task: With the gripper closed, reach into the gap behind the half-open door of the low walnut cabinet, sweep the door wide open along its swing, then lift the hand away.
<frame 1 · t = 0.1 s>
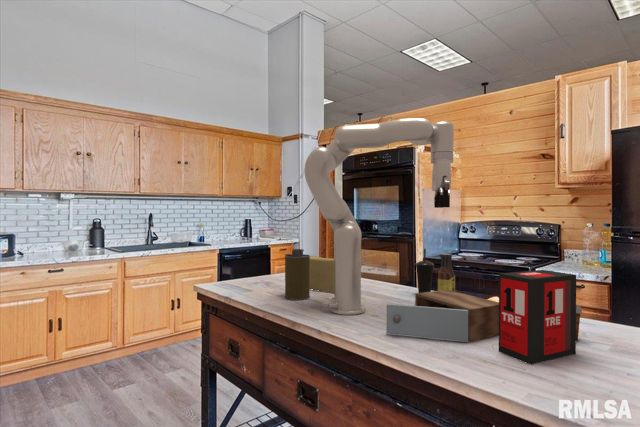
hand: (441, 207, 130), 37 cm above the counter, tool pointing down, fingers open, 9 cm apart
drinking cup: (424, 296, 159), on the counter
door: (425, 322, 105), point 5 cm above the counter, hinge at 45.0°
food container: (555, 336, 109), on the counter
cleaning product box: (536, 353, 95), on the counter
cabinet: (457, 327, 115), on the counter
canister: (296, 297, 155), on the counter
cheese: (323, 291, 169), on the counter
sauce bottle: (446, 307, 141), on the counter
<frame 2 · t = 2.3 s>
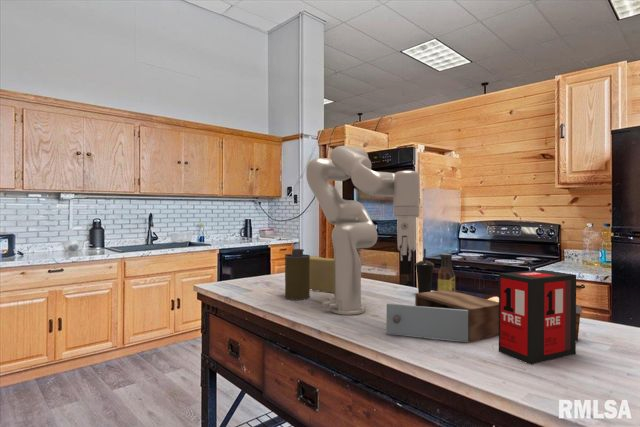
hand: (405, 273, 112), 17 cm above the counter, tool pointing down, fingers closed
nothing on the counter moved.
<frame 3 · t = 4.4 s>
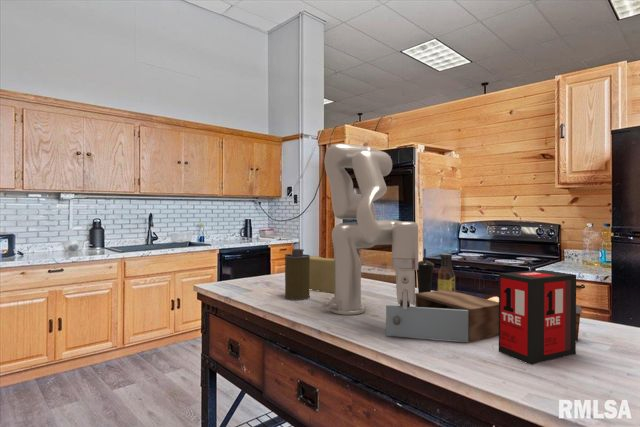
hand: (404, 326, 110), 2 cm above the counter, tool pointing down, fingers closed
door: (426, 323, 104), point 5 cm above the counter, hinge at 49.5°, touching gripper
everything else where it was.
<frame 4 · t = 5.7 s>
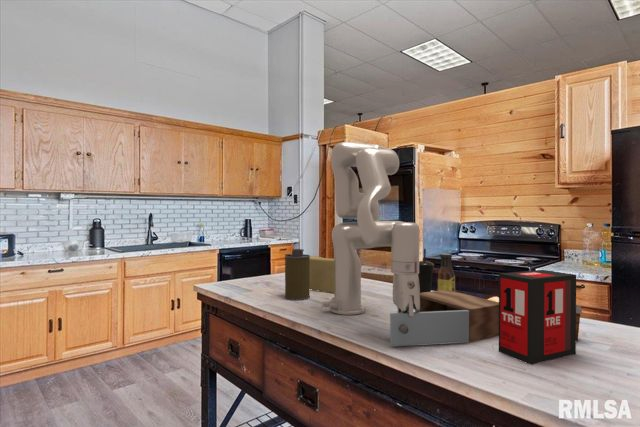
hand: (404, 333, 103), 2 cm above the counter, tool pointing down, fingers closed
door: (431, 328, 99), point 5 cm above the counter, hinge at 72.4°, touching gripper
everything else where it was.
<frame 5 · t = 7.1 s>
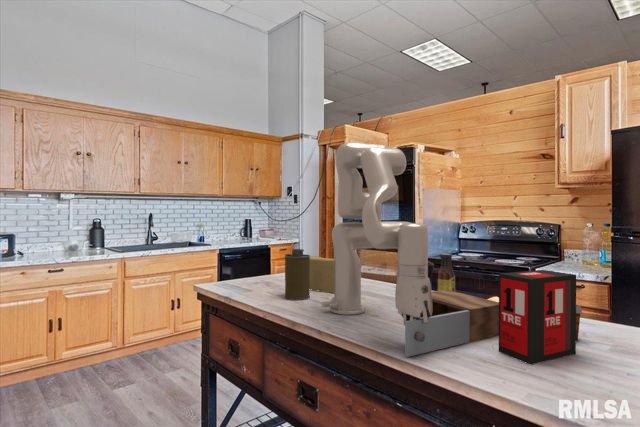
hand: (412, 341, 97), 2 cm above the counter, tool pointing down, fingers closed
door: (441, 332, 96), point 5 cm above the counter, hinge at 91.9°, touching gripper
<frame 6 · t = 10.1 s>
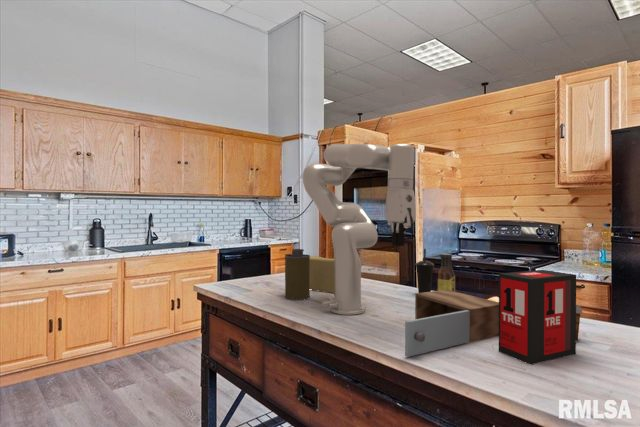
hand: (397, 245, 114), 25 cm above the counter, tool pointing down, fingers closed
door: (441, 332, 96), point 5 cm above the counter, hinge at 92.0°
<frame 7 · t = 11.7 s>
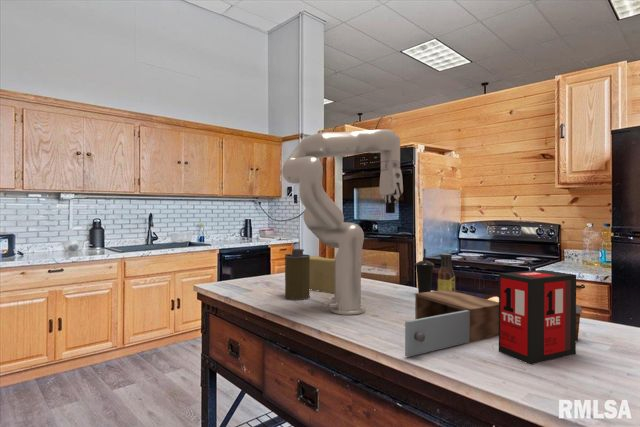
hand: (390, 213, 148), 35 cm above the counter, tool pointing down, fingers closed
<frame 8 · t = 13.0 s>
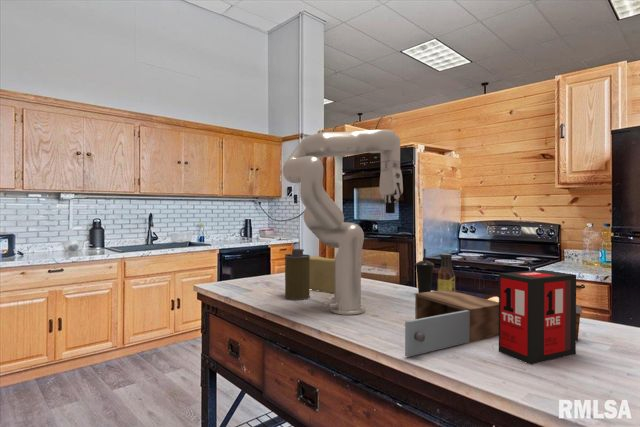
hand: (390, 213, 148), 35 cm above the counter, tool pointing down, fingers closed
at the end: door at +92° (first picture: +45°) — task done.
